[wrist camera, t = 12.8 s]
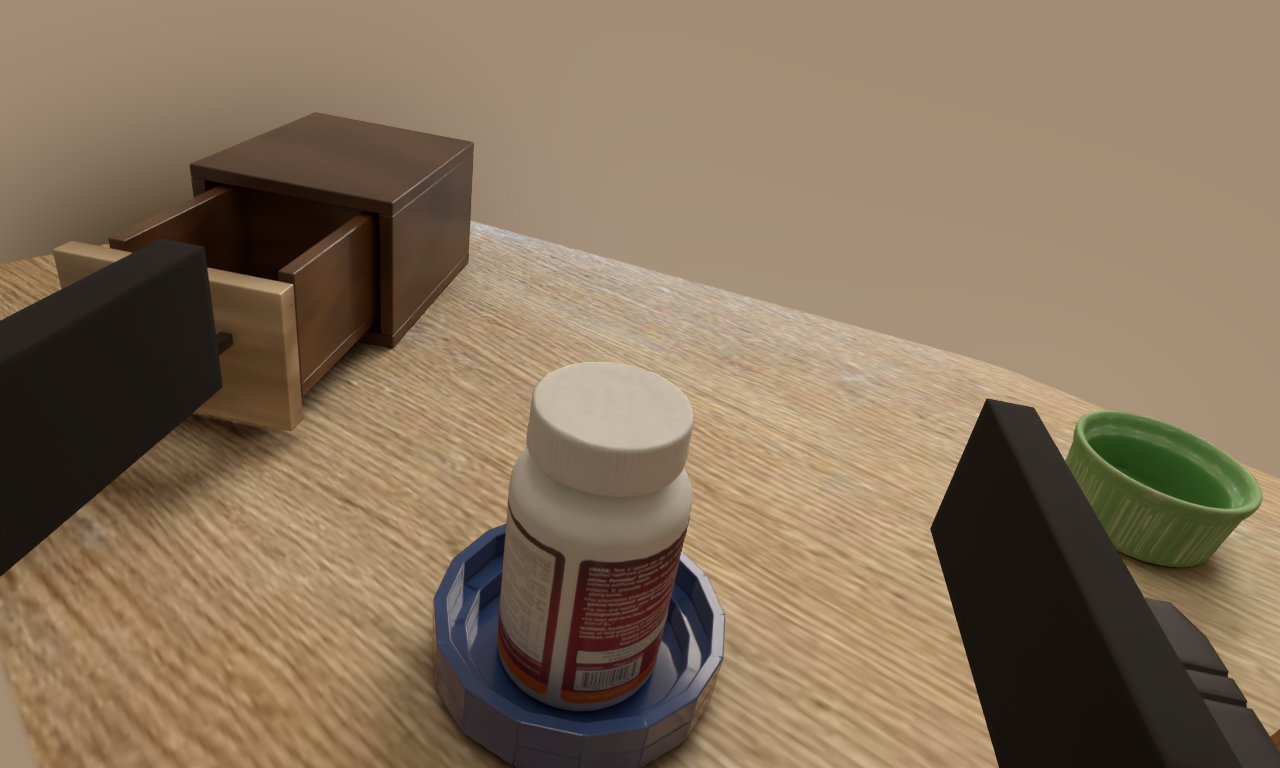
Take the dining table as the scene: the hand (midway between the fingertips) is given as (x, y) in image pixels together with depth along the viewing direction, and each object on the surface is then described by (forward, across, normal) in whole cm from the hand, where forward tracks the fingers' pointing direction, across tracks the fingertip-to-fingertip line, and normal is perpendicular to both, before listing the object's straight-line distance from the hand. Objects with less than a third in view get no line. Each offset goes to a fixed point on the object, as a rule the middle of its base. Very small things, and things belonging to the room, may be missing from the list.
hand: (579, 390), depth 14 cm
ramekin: (+27, -28, +18) cm, 43 cm away
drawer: (+23, +21, +17) cm, 35 cm away
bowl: (+10, 0, +18) cm, 20 cm away
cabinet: (+37, +21, +18) cm, 46 cm away
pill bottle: (+10, 0, +18) cm, 20 cm away
